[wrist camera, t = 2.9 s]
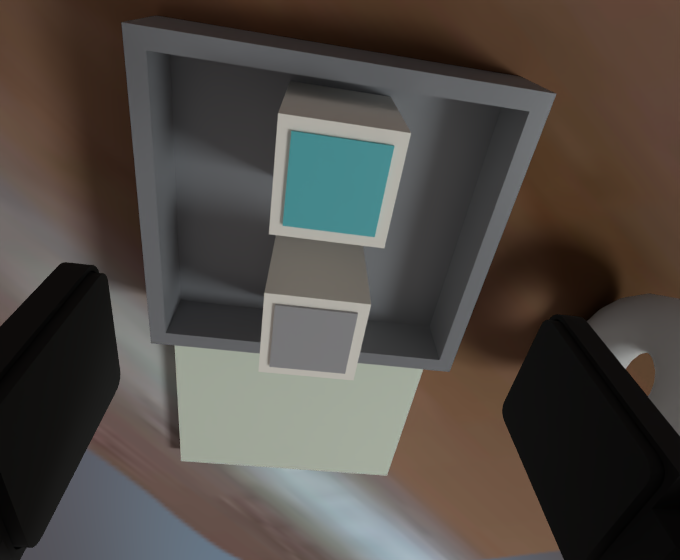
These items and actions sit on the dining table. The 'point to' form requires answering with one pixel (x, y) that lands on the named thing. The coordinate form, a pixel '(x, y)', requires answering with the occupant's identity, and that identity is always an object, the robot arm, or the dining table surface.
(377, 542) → the dining table surface
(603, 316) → the donut
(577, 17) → the dining table surface
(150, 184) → the parts bin
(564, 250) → the dining table surface
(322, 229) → the teal label box
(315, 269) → the grey label box
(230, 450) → the sage board
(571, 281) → the dining table surface
